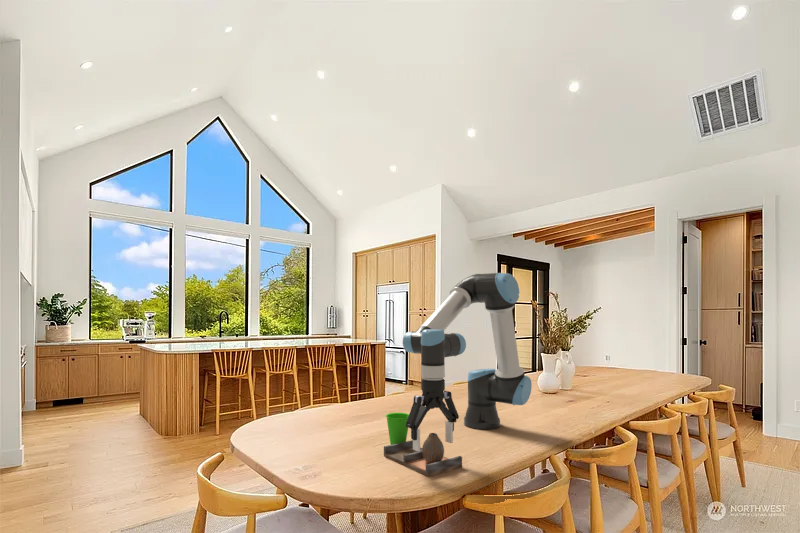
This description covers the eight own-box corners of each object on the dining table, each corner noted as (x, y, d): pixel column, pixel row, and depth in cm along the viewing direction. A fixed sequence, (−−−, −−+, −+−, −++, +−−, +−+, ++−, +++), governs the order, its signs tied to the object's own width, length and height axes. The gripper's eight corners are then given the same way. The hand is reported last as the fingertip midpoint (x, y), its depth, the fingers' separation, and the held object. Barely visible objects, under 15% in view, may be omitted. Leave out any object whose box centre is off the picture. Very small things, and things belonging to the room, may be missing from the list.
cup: (396, 441, 175) (396, 411, 176) (415, 446, 170) (415, 415, 170) (380, 447, 168) (380, 415, 169) (399, 452, 163) (400, 419, 164)
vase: (418, 460, 152) (418, 431, 152) (438, 457, 154) (438, 430, 155) (427, 467, 145) (427, 437, 146) (447, 464, 148) (447, 435, 148)
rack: (416, 448, 167) (416, 439, 167) (462, 467, 149) (462, 456, 149) (383, 456, 159) (383, 446, 159) (427, 476, 140) (427, 465, 141)
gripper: (453, 372, 162) (454, 436, 160) (394, 380, 147) (394, 450, 146) (469, 375, 156) (469, 441, 154) (409, 384, 141) (409, 457, 140)
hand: (433, 446), depth 150 cm, fingers open, 13 cm apart
